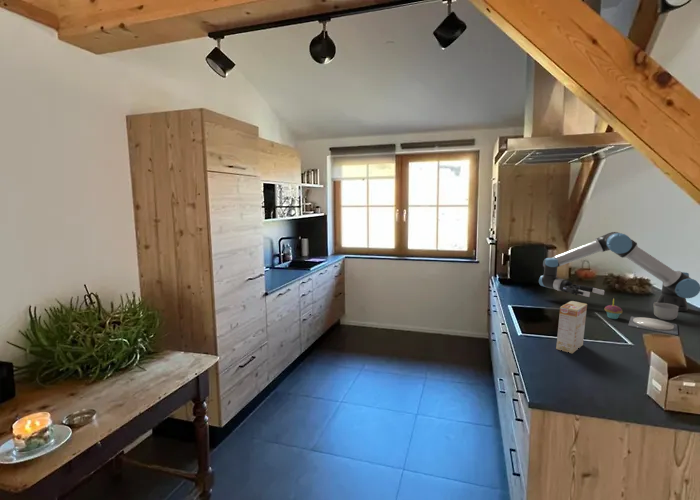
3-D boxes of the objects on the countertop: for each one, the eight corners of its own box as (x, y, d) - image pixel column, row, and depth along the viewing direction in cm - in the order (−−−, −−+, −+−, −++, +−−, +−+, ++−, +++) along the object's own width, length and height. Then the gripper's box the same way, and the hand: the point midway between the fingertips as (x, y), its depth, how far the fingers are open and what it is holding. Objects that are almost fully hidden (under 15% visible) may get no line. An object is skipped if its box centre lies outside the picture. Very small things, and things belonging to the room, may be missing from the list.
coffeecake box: (566, 340, 179) (570, 300, 177) (583, 345, 174) (588, 303, 172) (555, 349, 169) (559, 306, 167) (572, 354, 164) (577, 310, 161)
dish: (630, 317, 217) (631, 314, 217) (676, 325, 205) (677, 322, 204) (628, 326, 202) (628, 322, 202) (677, 335, 189) (678, 331, 189)
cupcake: (618, 321, 210) (621, 299, 208) (601, 317, 217) (603, 296, 215) (623, 318, 215) (626, 297, 214) (606, 314, 222) (608, 294, 220)
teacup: (681, 322, 210) (683, 308, 209) (659, 320, 212) (661, 306, 211) (666, 314, 223) (668, 301, 222) (645, 313, 225) (647, 300, 224)
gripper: (575, 289, 248) (608, 298, 229) (549, 292, 237) (582, 301, 218) (576, 278, 247) (610, 285, 228) (550, 281, 236) (583, 289, 217)
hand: (596, 293), depth 223 cm, fingers open, 13 cm apart
